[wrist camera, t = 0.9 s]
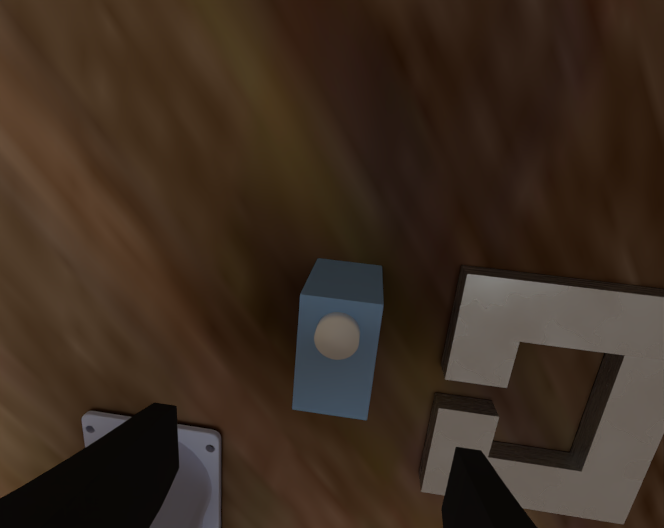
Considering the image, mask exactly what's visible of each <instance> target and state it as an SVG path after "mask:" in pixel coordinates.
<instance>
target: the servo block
mask: <svg viewBox="0 0 664 528" xmlns="http://www.w3.org/2000/svg"><path fill="white" fill-rule="evenodd" d="M383 306H384V302H383V277H382V266H380V265H371V264H363V263H355V262H346V261H338V260H330V259H321V258H318V259H317V261H316V263H315V265H314V267H313V269H312V271H311V273H310V275H309V277H308V279H307V281H306V283H305V285H304V287H303V289H302V292H301V294H300V304H299V318H298V333H297V347H296V361H295V375H294V389H293V403H292V409H293V410H300V411H307V412H313V413H320V414H327V415H333V416H340V417H347V418H353V419H360V420H367V416H368V409H369V403H370V396H371V389H372V382H373V375H374V368H375V361H376V354H377V347H378V340H379V333H380V326H381V319H382V313H383Z"/></svg>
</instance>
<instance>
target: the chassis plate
mask: <svg viewBox="0 0 664 528" xmlns="http://www.w3.org/2000/svg"><path fill="white" fill-rule="evenodd" d="M519 342H526V343H534V344H542V345H549V346H557V347H565V348H572V349H580V350H587V351H595V352H603V353H605V355H604V358H603V361H602V364H601V366H600V369H599V372H598V375H597V378H596V381H595V383H594V386H593V389H592V392H591V395H590V398H589V400H588V403H587V406H586V409H585V412H584V414H583V417H582V420H581V423H580V426H579V429H578V431H577V434H576V437H575V440H574V443H573V446H572V448H571V451H570V453H569V452H562V451H556V450H549V449H542V448H536V447H529V446H522V445H516V444H509V443H502V442H496V441H493V437H494V434H495V430H496V426H497V423H498V419H499V415H498V413H497V411H496V409H495V406H494V404H493V402H492V401H491V400H484V399H477V398H470V397H463V396H456V395H449V394H442V393H435V396H434V401H433V406H432V411H431V416H430V421H429V425H428V430H427V435H426V440H425V445H424V450H423V455H422V460H421V464H420V469H419V479H420V487H421V492H426V493H432V494H438V495H445V492H446V487H447V483H448V479H449V474H450V470H451V465H452V461H453V457H454V452H455V448H456V447H462V448H469V449H475V450H481V451H482V452H483V454H484V455H485V456H486V458H487V459H488V461H489V462H490V463H491V465H492V466H493V468H494V469H495V471H496V472H497V473H498V475H499V476H500V478H501V479H502V480H503V482H504V483H505V485H506V486H507V488H508V489H509V490H510V492H511V493H512V494H513V496H514V497H515V499H516V500H517V501H518V503H519V504H520V506H521V507H522V508H525V509H531V510H538V511H544V512H550V513H556V514H562V515H569V516H575V517H581V518H587V519H593V520H600V521H606V522H612V523H618V524H624V522H625V520H626V518H627V516H628V513H629V511H630V509H631V506H632V504H633V502H634V500H635V497H636V495H637V493H638V491H639V488H640V486H641V484H642V481H643V479H644V477H645V475H646V472H647V470H648V468H649V465H650V463H651V461H652V459H653V456H654V454H655V452H656V450H657V447H658V445H659V443H660V440H661V438H662V436H663V434H664V289H660V288H652V287H643V286H635V285H627V284H618V283H610V282H601V281H593V280H584V279H576V278H567V277H559V276H550V275H542V274H533V273H525V272H517V271H508V270H500V269H491V268H483V267H474V266H466V265H461V270H460V275H459V280H458V284H457V289H456V294H455V299H454V304H453V309H452V314H451V319H450V323H449V328H448V333H447V338H446V343H445V348H444V353H443V357H442V362H441V367H442V371H443V374H444V378H445V379H446V380H453V381H460V382H467V383H475V384H482V385H489V386H496V387H503V388H507V386H508V382H509V379H510V375H511V371H512V368H513V364H514V360H515V357H516V353H517V349H518V346H519Z"/></svg>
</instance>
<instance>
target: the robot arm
mask: <svg viewBox="0 0 664 528" xmlns="http://www.w3.org/2000/svg"><path fill="white" fill-rule="evenodd" d="M82 427H83V435H84V442H85V448H84V449H83V450H81V451H80V452H78V453H76V454H75V455H73V456H72V457H70V458H68V459H67V460H65V461H63V462H62V463H60V464H58V465H57V466H55V467H54V468H52V469H50V470H49V471H47V472H45V473H44V474H42V475H40V476H39V477H37V478H35V479H34V480H32V481H30V482H29V483H27V484H25V485H24V486H22V487H20V488H18V489H17V490H15V491H13V492H11V493H10V494H8V495H6V496H4V497H2V498H0V528H221V435H220V434H219V432H217V431H216V430H213V429H207V428H200V427H194V426H187V425H181V424H177V407H176V406H173V405H167V404H160V403H153V404H151V405H150V406H148V407H147V408H145V409H143V410H142V411H140V412H139V413H137V414H136V415H134V416H133V417H130V416H123V415H117V414H110V413H104V412H98V411H88V412H86V413H85V414H84V415H83V417H82ZM210 445H212V446H213V447H211V446H210ZM442 519H443V528H537V527H536V526H535V524H534V523H533V522H532V520H531V519H530V518H529V516H528V515H527V514H526V512H525V511H524V510H523V508H522V507H521V506H520V504H519V503H518V501H517V500H516V499H515V497H514V496H513V494H512V493H511V492H510V490H509V489H508V488H507V486H506V485H505V483H504V482H503V480H502V479H501V478H500V476H499V475H498V473H497V472H496V471H495V469H494V468H493V466H492V465H491V463H490V462H489V461H488V459H487V458H486V456H485V455H484V454H483V452H482V451H481V450H475V449H469V448H462V447H456V448H455V452H454V457H453V461H452V465H451V470H450V474H449V479H448V483H447V487H446V492H445V496H444V501H443V505H442Z"/></svg>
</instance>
